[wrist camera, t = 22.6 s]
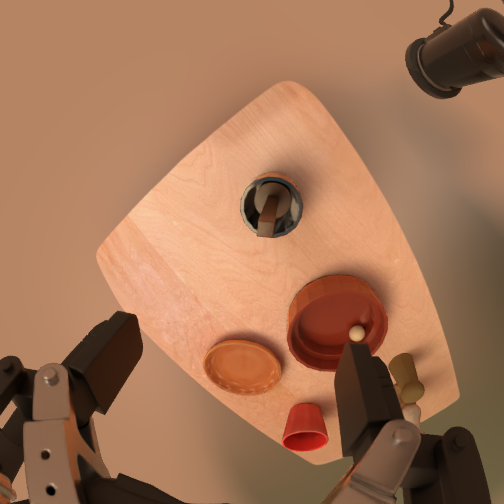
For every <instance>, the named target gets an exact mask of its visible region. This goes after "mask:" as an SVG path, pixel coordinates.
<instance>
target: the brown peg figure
mask: <svg viewBox="0 0 504 504" xmlns="http://www.w3.org/2000/svg"><path fill="white" fill-rule="evenodd" d="M389 370H390V372H391V374H392V375H393V377H394V379H395V380H396V382H397V384H398V386H399V387H400V389H401V398H402V400H403V402H405V403H408V404H410V403H414V402H416V401H418V400H419V399H420V398H421V397H422V396H423V395H424V391H425V389H424V386H423V384H422V383H421V382H420V381H419V380H418V376H417V372H416V369H415V365H414V361H413V358H412V355H410V354H408V353H403V354H400V355H398V356H396V357H395V358H393V359H392V361H391V362H390V364H389Z"/></svg>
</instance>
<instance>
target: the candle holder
mask: <svg viewBox="0 0 504 504" xmlns="http://www.w3.org/2000/svg"><path fill="white" fill-rule="evenodd" d="M393 387H394V388H395V391H396V394H397V397H398V400H399V403H400V406H401V409H402V412H403V415H404V418H405V420H407V421H409V422H411V423H413V424H414V425H415V426H416V427H417V428H418V429H419V431H420V433H423V434H425V432H422V429H421V426H420V417H421V409H420V407H419V406H418V405H416V402H414V403H410V404H408V403H405V402H403V400H402V398H401V389H400V387H399V386H398V384H396V385H394V386H393Z"/></svg>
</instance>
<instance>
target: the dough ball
mask: <svg viewBox="0 0 504 504" xmlns="http://www.w3.org/2000/svg"><path fill="white" fill-rule="evenodd" d="M349 336H350V338H351V339H352V340H353V341H360V340H362V339H363V338H364V336H365V330H364V328H363V327H362V326H359V325H356V326H354V327H352V328H351V329H350V332H349Z"/></svg>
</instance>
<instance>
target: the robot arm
mask: <svg viewBox="0 0 504 504" xmlns="http://www.w3.org/2000/svg"><path fill="white" fill-rule="evenodd" d="M502 2H503V3H504V0H502ZM453 7H454V5H453V0H450V8H449V10H448V11H447V12H446V13H445V14H444V15H443V16H442V17H441V18H440V19H439V23H440V24H441V25H443V27H438V28H437V29H436V30H434V31H433V34H431V35H430V36H428V37H427V38H425V39H424V40H423V41H422V45H421V46H420V47H419V48H418V50H417V52H416V61H417V65H418V68H419V70H420V72H421V73H422V75H423V76H424V78H425V79H426V80H427V81H428V82H429V83H430V84H431V85H432V86H434V87H435V88H437V89H439V90H442V91H451V90H454V89H456V88H457V89H458V88H459V87H463V86H467V85H471V84H475V83H479V82H483V81H487V80H492V79H496V78H500V77H504V16H503V15H501V14H500V13H498V12H497V11H495V10H493V9H490V8H481V9H479V10H477V11H475V12H473V13H472V14H470V15H469V16H467V17H466V18H464V19H463V20H461V21H459V22H457V23H456V24H454V25H453V26H452V25H450V24H446V23H445V22H443V21H444V20H445V19H446V18H447V17H448V16H449V15H450V14H451V13H452V11H453ZM142 352H143V343H142V338H141V333H140V328H139V323H138V318H137V316H136V315H135V314H131V313H126V312H122V311H117V312H116V313H115V314H114V315H113V316H112V317H111V318H110V319H109V320H105V321H103V322H102V323H100V324H98V325H96V326H95V327H94V328H93V329H92V330H91V331H90V332H89V334H88V335H86V336H85V338H84V339H83V341H81V342H80V343H79V344H78V345H77V346H76V347H75V348H74V350H73V351H72V352H71V353H70V354H69V355H68V356H67V357H66V359H65V360H64V361H63V362H62V363H61V364H58V363H50V364H46V365H44V366H43V367H41V368H40V369H39V370H38V371H37V370H31V369H26V368H24V366H23V365H22V363H21V361H20V359H19V358H18V357H16V356H7V357H4V358H3V359H1V360H0V415H1V414H2V412H3V411H4V410H5V408H6V407H7V405H8V404H9V403H10V401H11V400H12V401H13V402H14V404H15V405H16V407H17V408H16V410H15V411H14V412H13V414H12V415H11V417H10V418H9V420H8V421H7V423H6V424H5V426H4V427H3V428H2V429H1V428H0V504H189V503H184V502H182V501H179V500H178V499H176V498H174V497H172V496H170V495H168V494H167V493H165V492H163V491H161V490H159V489H158V488H156V487H154V486H153V485H151V484H148V483H145V482H142V481H139V480H136V479H134V478H131V477H129V476H126V475H124V474H121V473H119V474H118V477H117V479H115V478H111V476H110V474H109V472H108V470H107V468H106V466H105V464H104V462H103V460H102V457H101V454H100V449H99V445H98V441H97V436H96V431H95V427H94V421H93V418H92V414H93V413H94V411H97V412H99V413H101V414H104V415H105V414H106V413H107V411H108V409H109V407H110V406H111V404H112V403H113V401H114V399H115V398H116V396H117V394H118V393H119V391H120V389H121V388H122V386H123V385H124V383H125V382H126V380H127V378H128V377H129V375H130V374H131V372H132V371H133V369H134V367H135V366H136V364H137V363H138V361H139V360H140V358H141V356H142ZM334 387H335V394H336V401H337V409H338V417H339V425H340V434H341V444H342V454H343V457H348V456H353V461H354V464H353V465H352V466H351V468H350V469H349V470H348V471H347V473H346V474H345V475H344V477H343V478H342V479H341V480H340V481H339V483H338V484H337V485H336V486H335V487H334V489H333V490H332V491H331V492H330V493H329V495H328V496H327V497H326V498H325V499H324V500H323V501H322V502H321V503H320V504H395V503H396V500H397V498H396V497H395V493H396V491H397V489H398V488H399V487H402V488H403V497H404V504H491V500H490V494H489V489H488V485H487V481H486V477H485V473H484V469H483V465H482V462H481V458H480V455H479V452H478V449H477V446H476V443H475V440H474V437H473V435H472V434H471V433H470V431H468V430H467V429H465V428H463V427H453V428H451V429H449V430H448V431H447V432H446V433H445V434H444V435H443V436H438V435H430V434H423V433H420V431H419V429H418V428H417V427H416V426H415V425H414V424H413V423H411V422H409V421H407V420H405V418H404V415H403V412H402V409H401V406H400V403H399V400H398V397H397V394H396V391H395V388H394V387H393V382H392V379H391V378H390V374H389V371H388V368H387V366H386V365H385V363H384V362H383V361H382V360H381V359H380V358H379V357H378V356H372V355H371V352H370V349H369V346H368V344H367V343H351V342H348V343H346V345H345V347H344V350H343V353H342V356H341V359H340V362H339V364H338V367H337V370H336V373H335V380H334ZM23 462H24V463H25V473H26V482H27V489H28V494H29V499H27V500H22V501H18V502H13V503H10V500H12V501H14V500H15V499H16V497H17V496H16V492H15V491H14V490H13V489H12V486H11V485H12V482H13V481H14V479H15V477H16V475H17V473H18V471H19V469H20V467H21V465H22V463H23ZM223 504H228V503H223Z"/></svg>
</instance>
